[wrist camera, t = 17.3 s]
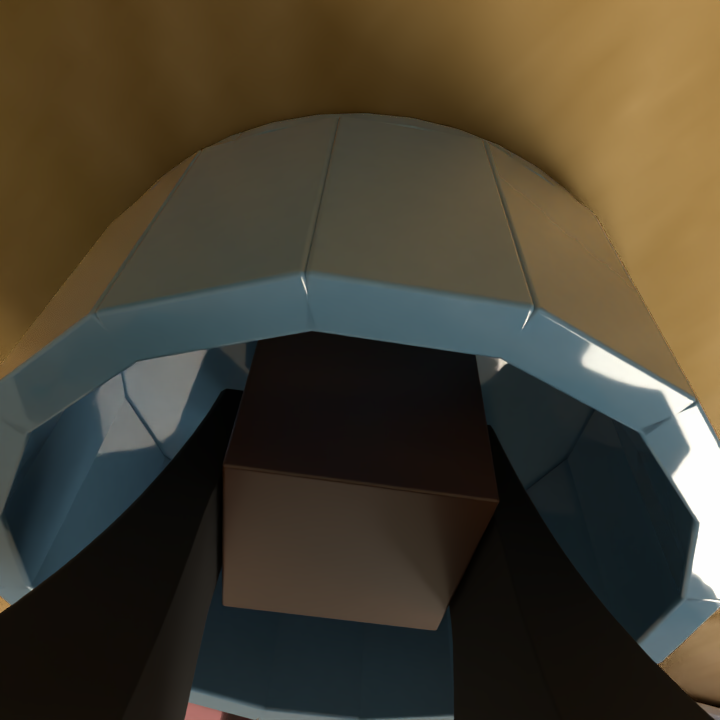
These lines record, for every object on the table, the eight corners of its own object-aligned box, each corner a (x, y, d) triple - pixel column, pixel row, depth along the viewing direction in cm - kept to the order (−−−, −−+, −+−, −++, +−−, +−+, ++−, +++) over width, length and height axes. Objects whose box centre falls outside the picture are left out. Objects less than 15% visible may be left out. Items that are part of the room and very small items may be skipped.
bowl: (752, 174, 11) (977, 374, 7) (527, 555, 19) (564, 754, 15) (44, 54, 10) (-204, 194, 6) (122, 504, 18) (40, 699, 14)
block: (473, 333, 13) (500, 502, 10) (427, 465, 16) (436, 632, 12) (267, 302, 13) (221, 465, 9) (259, 442, 15) (221, 606, 12)
